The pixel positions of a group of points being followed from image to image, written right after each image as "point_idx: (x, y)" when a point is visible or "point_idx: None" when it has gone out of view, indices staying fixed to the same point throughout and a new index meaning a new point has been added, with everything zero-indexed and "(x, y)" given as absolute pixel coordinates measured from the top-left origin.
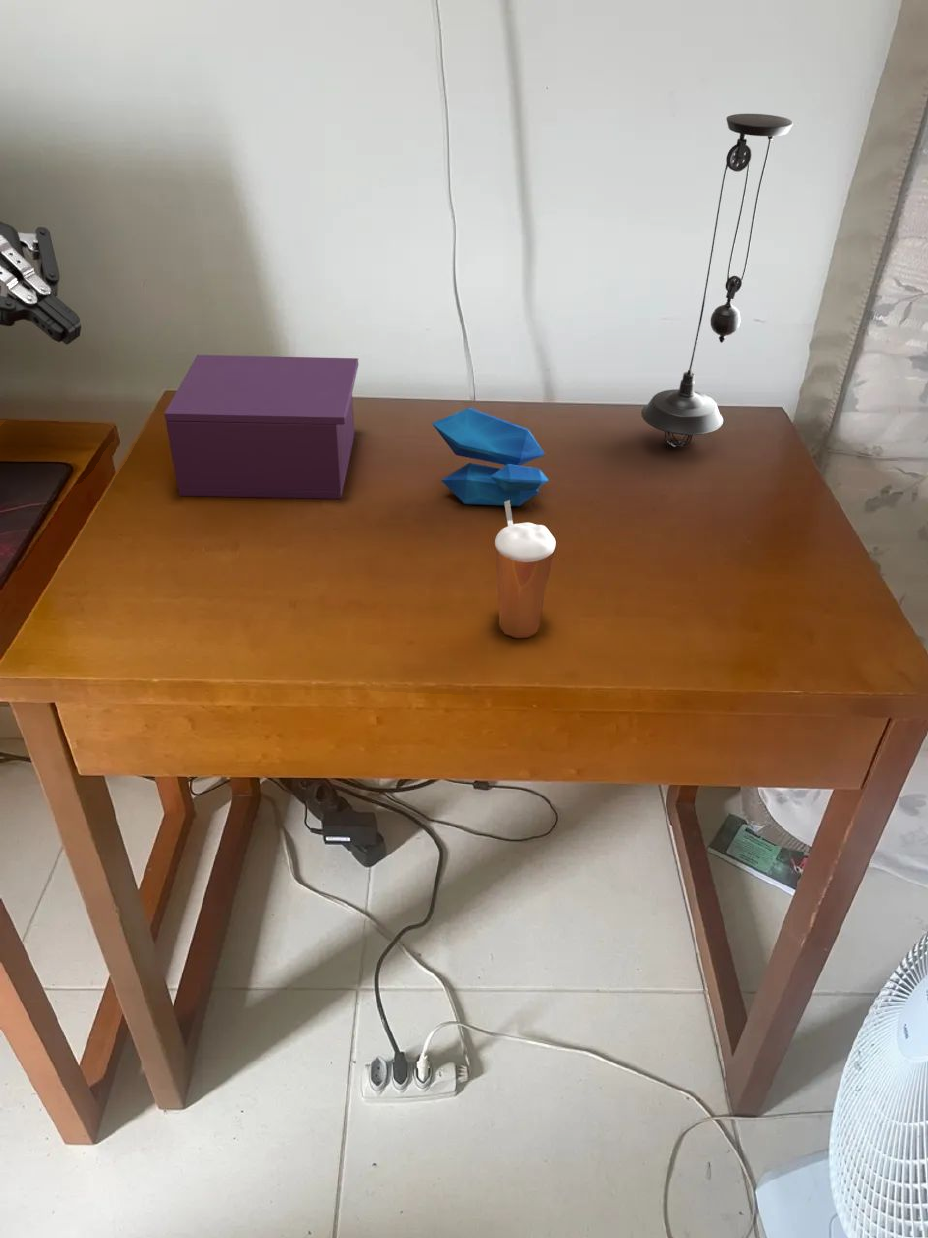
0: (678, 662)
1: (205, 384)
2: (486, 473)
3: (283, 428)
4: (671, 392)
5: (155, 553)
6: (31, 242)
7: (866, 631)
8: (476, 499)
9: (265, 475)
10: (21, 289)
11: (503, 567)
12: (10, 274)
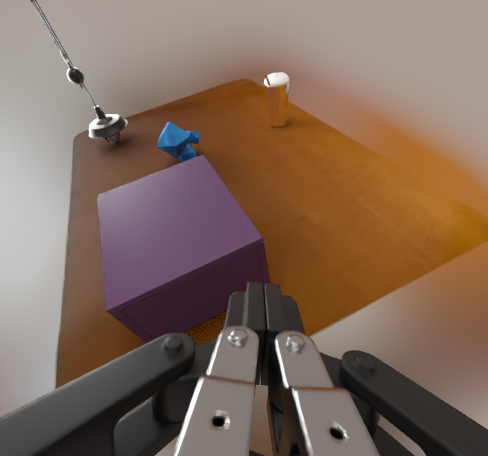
0: None
1: (186, 249)
2: (187, 150)
3: None
4: (94, 125)
5: (344, 248)
6: None
7: (226, 87)
8: None
9: None
10: (296, 370)
11: (288, 88)
12: (303, 399)
